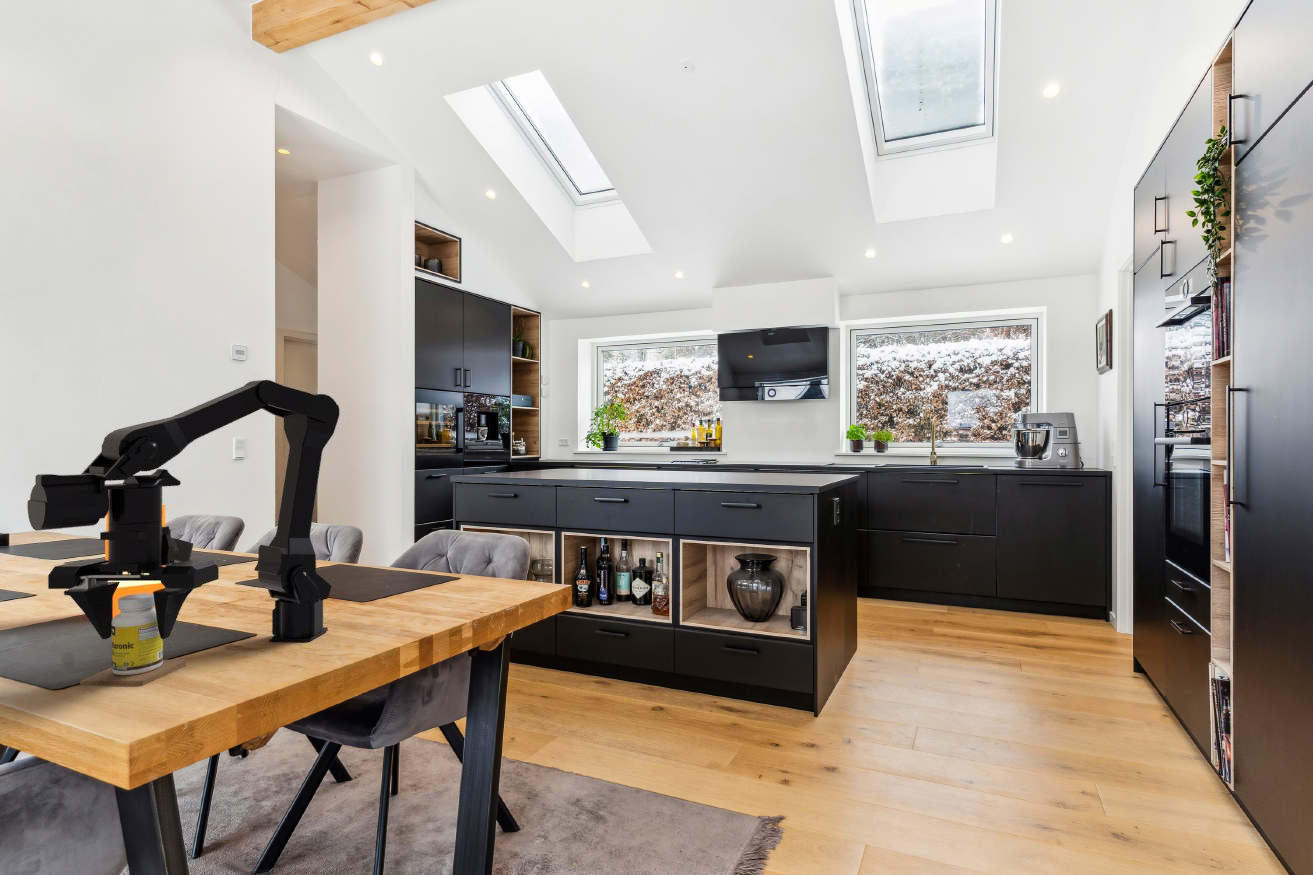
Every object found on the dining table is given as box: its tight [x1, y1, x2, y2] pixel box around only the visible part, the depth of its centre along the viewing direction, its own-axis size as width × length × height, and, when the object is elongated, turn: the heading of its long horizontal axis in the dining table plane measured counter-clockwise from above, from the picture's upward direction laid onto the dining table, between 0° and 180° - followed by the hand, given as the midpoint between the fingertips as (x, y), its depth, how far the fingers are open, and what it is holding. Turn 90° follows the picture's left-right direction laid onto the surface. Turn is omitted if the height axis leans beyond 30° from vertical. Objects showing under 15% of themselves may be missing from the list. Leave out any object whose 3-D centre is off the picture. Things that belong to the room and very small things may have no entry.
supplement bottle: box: [111, 593, 164, 675], centre depth 89 cm, size 5×5×10 cm
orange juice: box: [104, 504, 167, 618], centre depth 124 cm, size 8×9×20 cm
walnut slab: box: [79, 659, 188, 687], centre depth 89 cm, size 8×8×2 cm
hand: (135, 638), depth 89 cm, fingers open, 7 cm apart
